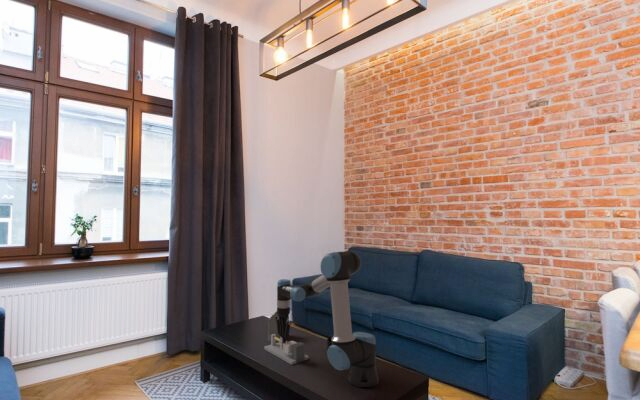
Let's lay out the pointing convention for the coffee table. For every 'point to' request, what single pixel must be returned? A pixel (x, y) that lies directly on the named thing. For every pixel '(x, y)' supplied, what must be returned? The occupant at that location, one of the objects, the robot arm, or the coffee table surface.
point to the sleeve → (288, 346)
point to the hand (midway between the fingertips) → (282, 347)
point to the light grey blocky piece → (291, 358)
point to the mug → (329, 343)
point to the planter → (273, 326)
